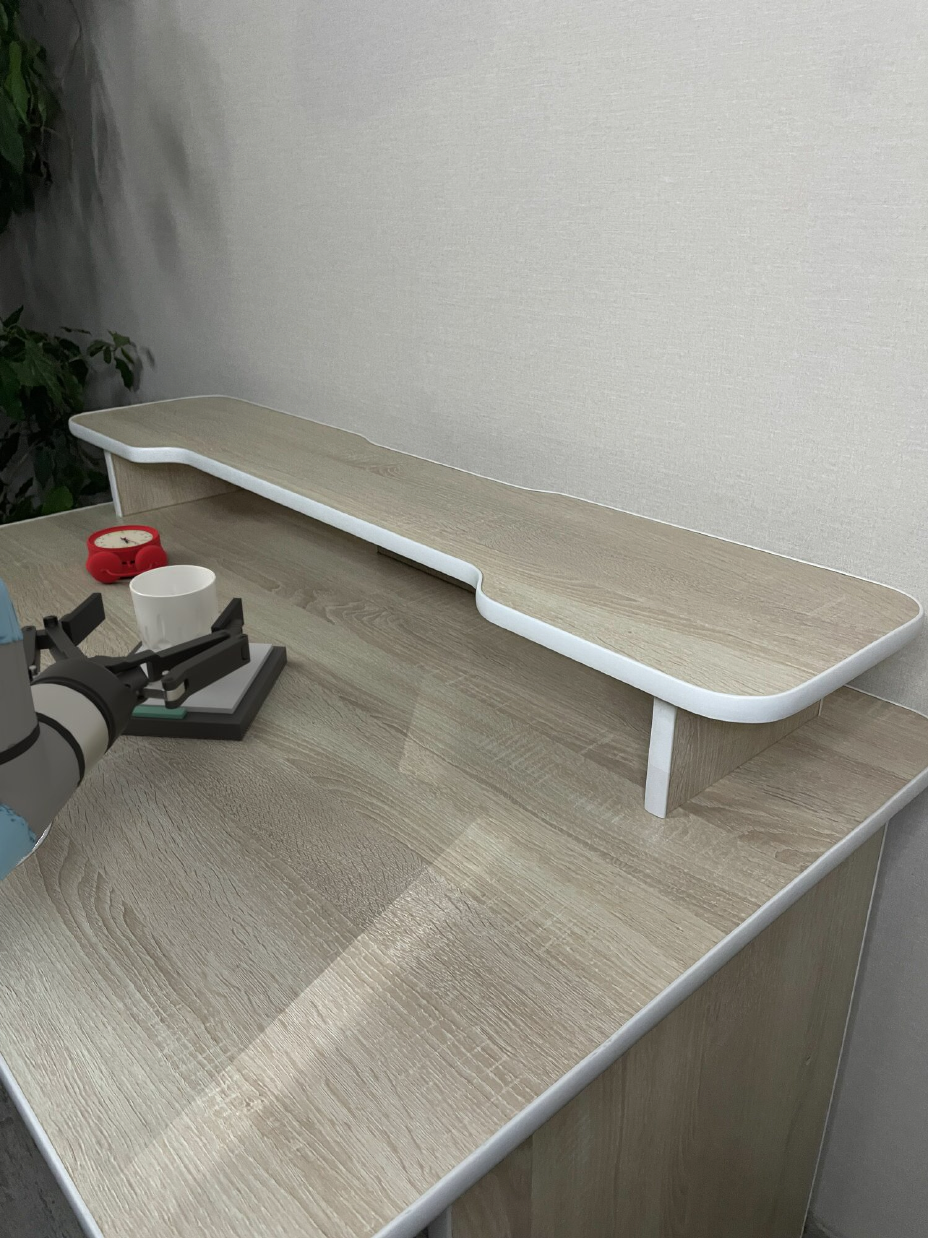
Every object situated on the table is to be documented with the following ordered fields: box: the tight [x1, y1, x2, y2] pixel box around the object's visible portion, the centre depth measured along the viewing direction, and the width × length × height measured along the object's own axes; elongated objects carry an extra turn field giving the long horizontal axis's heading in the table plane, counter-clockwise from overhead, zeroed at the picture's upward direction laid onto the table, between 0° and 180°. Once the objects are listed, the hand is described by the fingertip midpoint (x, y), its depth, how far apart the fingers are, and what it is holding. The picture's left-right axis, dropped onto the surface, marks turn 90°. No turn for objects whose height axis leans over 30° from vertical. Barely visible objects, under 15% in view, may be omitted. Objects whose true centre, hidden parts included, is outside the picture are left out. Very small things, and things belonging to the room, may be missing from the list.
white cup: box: [129, 564, 220, 652], centre depth 91 cm, size 8×8×10 cm
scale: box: [121, 639, 288, 742], centre depth 93 cm, size 16×16×2 cm
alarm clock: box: [85, 524, 169, 584], centre depth 124 cm, size 10×6×15 cm
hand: (169, 608), depth 89 cm, fingers open, 13 cm apart
